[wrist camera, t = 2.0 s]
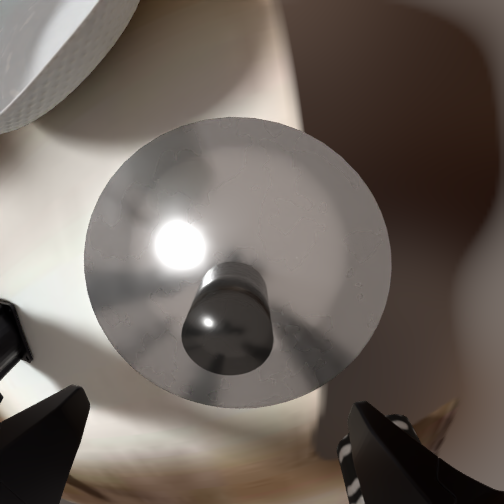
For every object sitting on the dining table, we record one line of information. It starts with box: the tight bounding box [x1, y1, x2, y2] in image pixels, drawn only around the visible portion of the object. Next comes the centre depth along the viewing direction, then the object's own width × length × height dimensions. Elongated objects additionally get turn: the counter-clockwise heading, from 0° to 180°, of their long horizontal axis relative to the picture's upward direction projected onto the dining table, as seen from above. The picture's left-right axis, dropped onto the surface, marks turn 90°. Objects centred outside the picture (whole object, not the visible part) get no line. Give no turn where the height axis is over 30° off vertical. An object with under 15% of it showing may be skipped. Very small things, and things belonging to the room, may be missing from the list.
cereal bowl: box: [0, 0, 140, 134], centre depth 9 cm, size 17×17×7 cm
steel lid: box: [84, 117, 392, 408], centre depth 15 cm, size 20×20×6 cm
